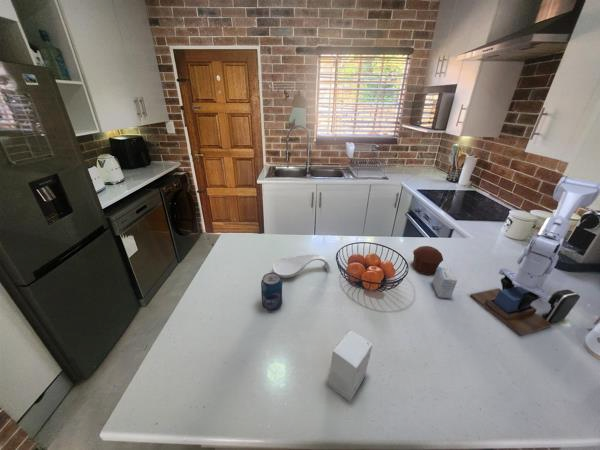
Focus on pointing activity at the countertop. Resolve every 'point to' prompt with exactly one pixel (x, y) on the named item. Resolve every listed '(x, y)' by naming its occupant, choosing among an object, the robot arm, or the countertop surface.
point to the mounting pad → (512, 314)
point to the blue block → (510, 299)
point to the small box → (349, 364)
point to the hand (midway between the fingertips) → (512, 302)
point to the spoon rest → (296, 264)
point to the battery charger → (561, 305)
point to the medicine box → (444, 282)
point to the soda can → (271, 292)
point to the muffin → (426, 259)
